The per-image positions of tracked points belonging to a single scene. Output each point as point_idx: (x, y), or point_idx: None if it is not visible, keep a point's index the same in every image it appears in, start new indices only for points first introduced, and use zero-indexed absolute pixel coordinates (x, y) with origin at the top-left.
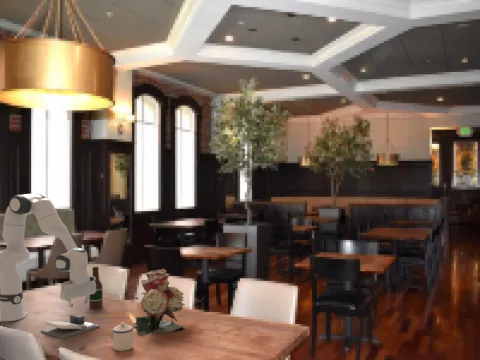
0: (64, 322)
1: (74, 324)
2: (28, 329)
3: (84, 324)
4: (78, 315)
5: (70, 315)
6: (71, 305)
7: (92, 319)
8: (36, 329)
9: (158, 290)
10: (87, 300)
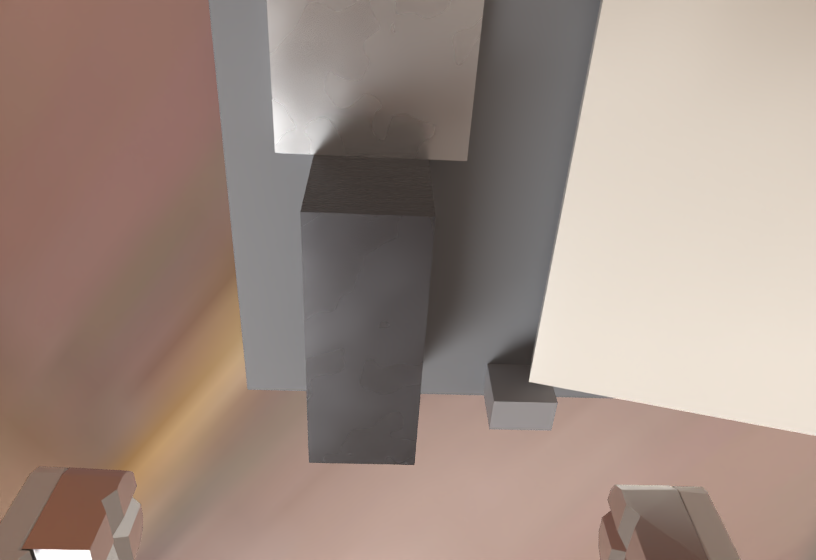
0: (627, 332)
1: (625, 109)
2: (780, 554)
3: (419, 22)
4: (340, 342)
5: (415, 450)
6: (684, 525)
7: (15, 288)
8: (756, 501)
9: None
10: (9, 540)
